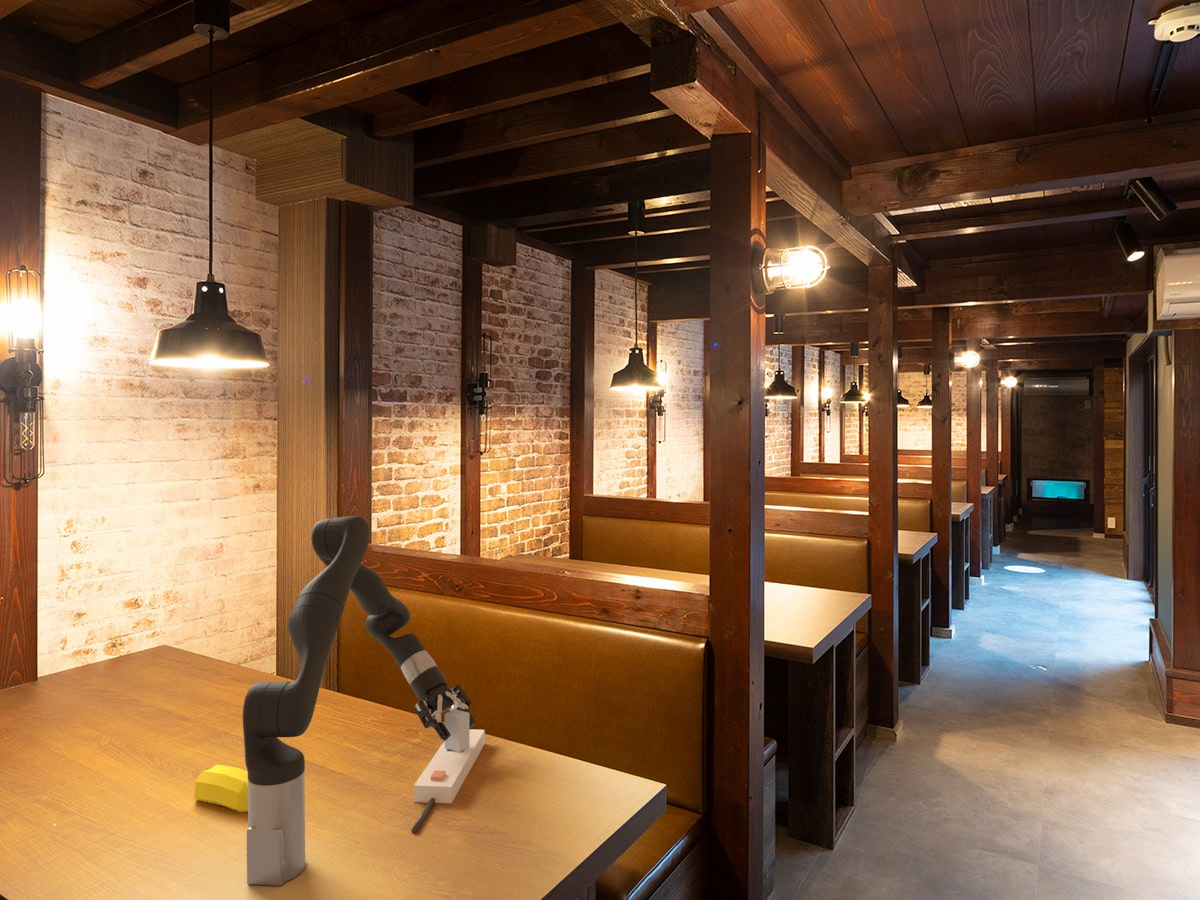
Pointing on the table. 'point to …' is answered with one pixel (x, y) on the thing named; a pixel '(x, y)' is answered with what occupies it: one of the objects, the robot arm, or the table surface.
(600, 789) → the table surface
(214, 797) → the yellow banana
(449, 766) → the power strip
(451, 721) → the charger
